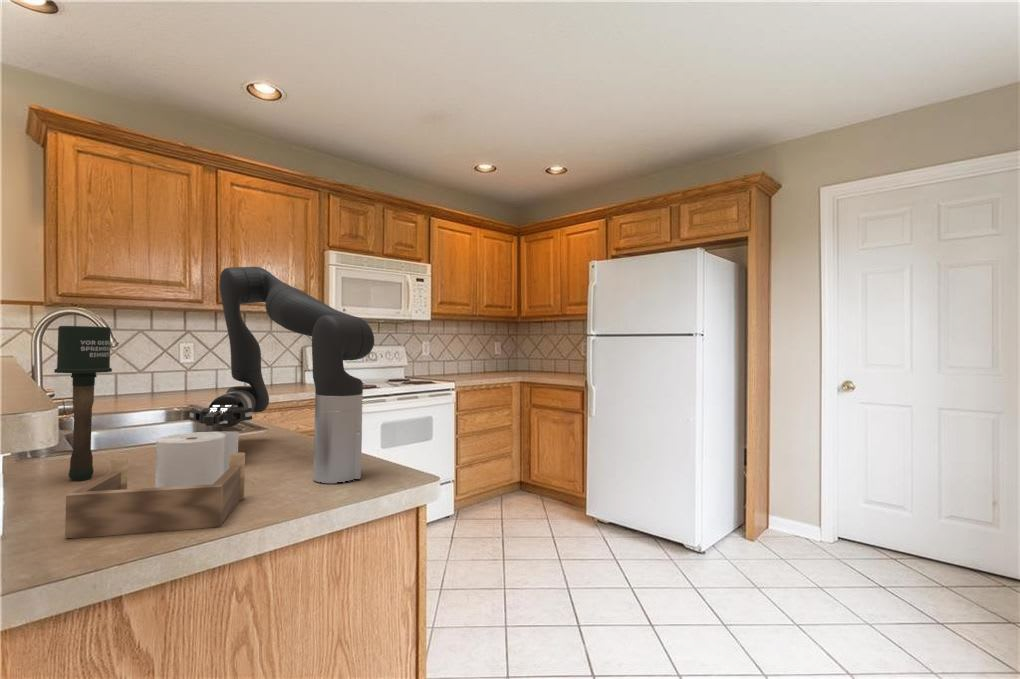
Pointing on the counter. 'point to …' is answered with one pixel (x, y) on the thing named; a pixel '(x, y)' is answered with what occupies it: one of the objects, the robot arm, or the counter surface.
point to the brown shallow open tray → (151, 503)
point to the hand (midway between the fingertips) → (209, 420)
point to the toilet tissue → (193, 457)
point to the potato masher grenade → (83, 385)
